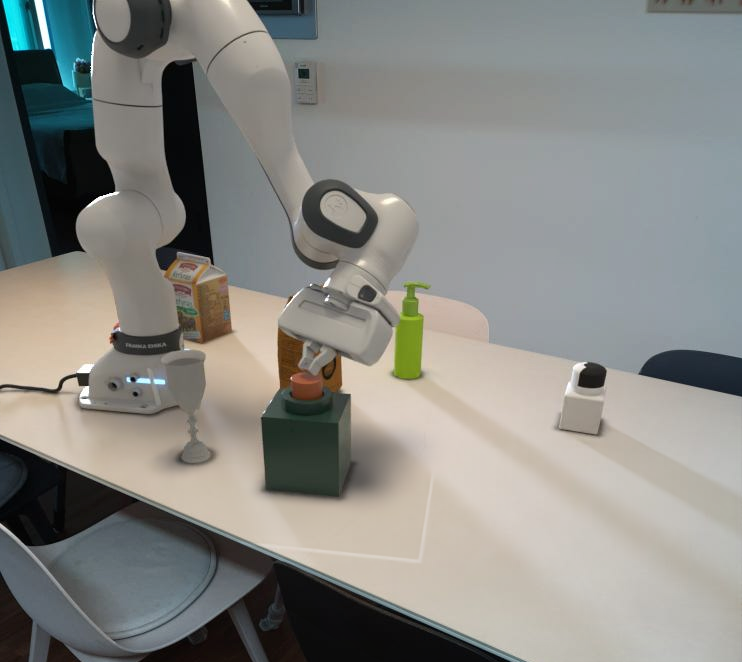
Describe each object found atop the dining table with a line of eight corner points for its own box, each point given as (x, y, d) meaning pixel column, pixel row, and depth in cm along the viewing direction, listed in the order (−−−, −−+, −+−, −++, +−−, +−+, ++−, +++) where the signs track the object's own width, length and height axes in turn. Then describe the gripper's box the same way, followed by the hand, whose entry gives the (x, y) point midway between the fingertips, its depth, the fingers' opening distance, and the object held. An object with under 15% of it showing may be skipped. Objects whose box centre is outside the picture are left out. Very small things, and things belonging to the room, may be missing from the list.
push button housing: (265, 489, 116) (259, 404, 108) (282, 457, 125) (278, 376, 117) (339, 496, 115) (338, 410, 107) (350, 463, 124) (351, 382, 116)
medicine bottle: (599, 420, 141) (611, 361, 134) (597, 435, 135) (609, 375, 129) (562, 414, 143) (572, 356, 136) (558, 429, 137) (568, 369, 130)
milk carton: (232, 331, 181) (225, 253, 171) (202, 343, 173) (193, 262, 163) (201, 323, 186) (192, 247, 176) (170, 335, 178) (160, 256, 168)
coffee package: (349, 392, 150) (350, 286, 138) (309, 412, 141) (306, 300, 130) (314, 380, 155) (311, 277, 143) (273, 398, 146) (266, 290, 135)
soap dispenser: (423, 380, 156) (428, 288, 145) (391, 377, 157) (394, 285, 147) (426, 370, 161) (432, 280, 150) (396, 367, 162) (399, 278, 151)
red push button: (288, 400, 111) (287, 382, 109) (295, 388, 115) (295, 370, 113) (319, 402, 110) (318, 384, 108) (325, 390, 114) (324, 373, 113)
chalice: (195, 470, 121) (182, 369, 112) (166, 459, 124) (151, 360, 115) (225, 452, 126) (215, 355, 117) (196, 442, 129) (184, 346, 120)
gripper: (296, 270, 115) (251, 343, 114) (390, 297, 103) (340, 380, 102) (318, 292, 120) (275, 363, 119) (409, 321, 108) (363, 400, 107)
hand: (306, 371), depth 110 cm, fingers closed
